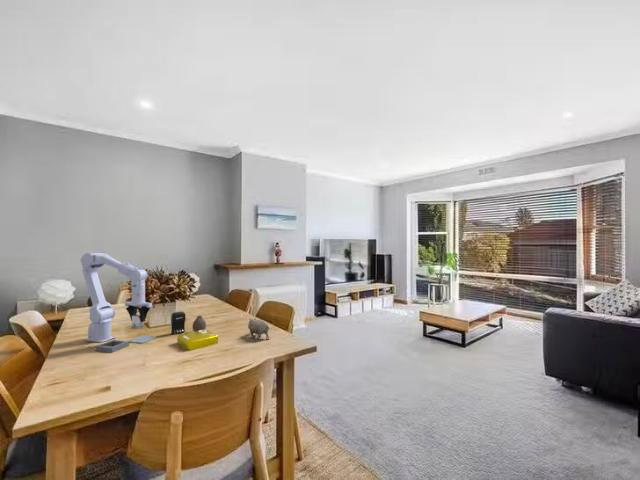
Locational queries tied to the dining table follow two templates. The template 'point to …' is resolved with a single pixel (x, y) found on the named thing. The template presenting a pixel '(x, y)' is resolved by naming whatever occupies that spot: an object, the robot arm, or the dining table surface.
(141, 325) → the shiny metal cylinder
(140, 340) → the mat
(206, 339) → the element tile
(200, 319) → the vase
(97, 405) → the dining table surface
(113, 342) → the frame
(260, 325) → the rhinoceros figurine
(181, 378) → the dining table surface
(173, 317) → the battery charger
